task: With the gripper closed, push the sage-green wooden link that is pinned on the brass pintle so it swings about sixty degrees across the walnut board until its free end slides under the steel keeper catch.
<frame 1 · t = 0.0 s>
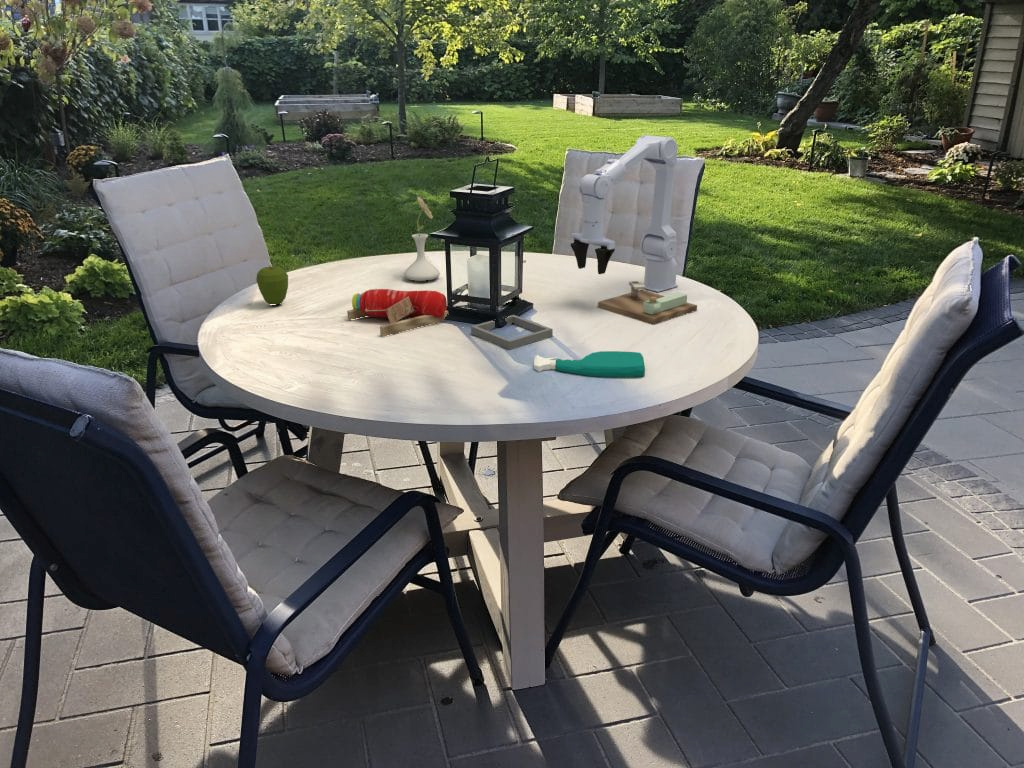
hand: (591, 270, 212), 10 cm above the table, tool pointing down, fingers open, 7 cm apart
bottle cradle: (398, 319, 206), on the table
mousse rim: (511, 335, 194), on the table
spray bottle: (588, 370, 174), on the table
water bottle: (398, 319, 206), touching bottle cradle
flower in vase: (422, 279, 243), on the table
apple: (275, 305, 218), on the table
link: (665, 303, 208), point 3 cm above the table, hinge at 0.0°
board: (646, 308, 213), on the table
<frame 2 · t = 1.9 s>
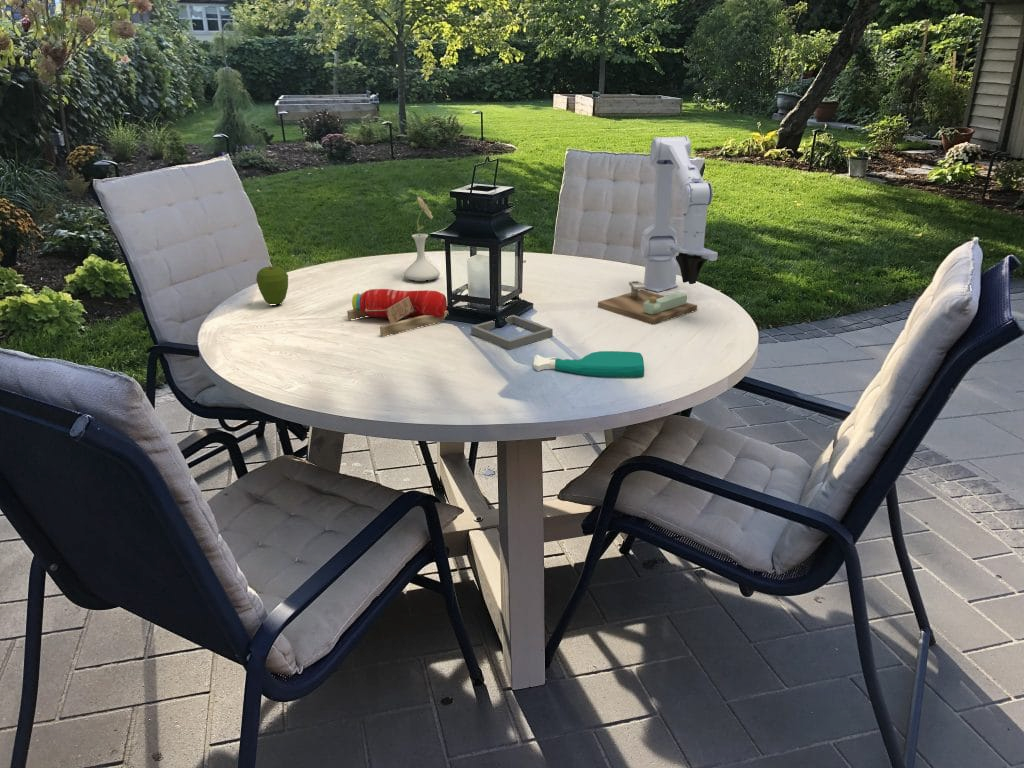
hand: (689, 282, 203), 9 cm above the table, tool pointing down, fingers closed
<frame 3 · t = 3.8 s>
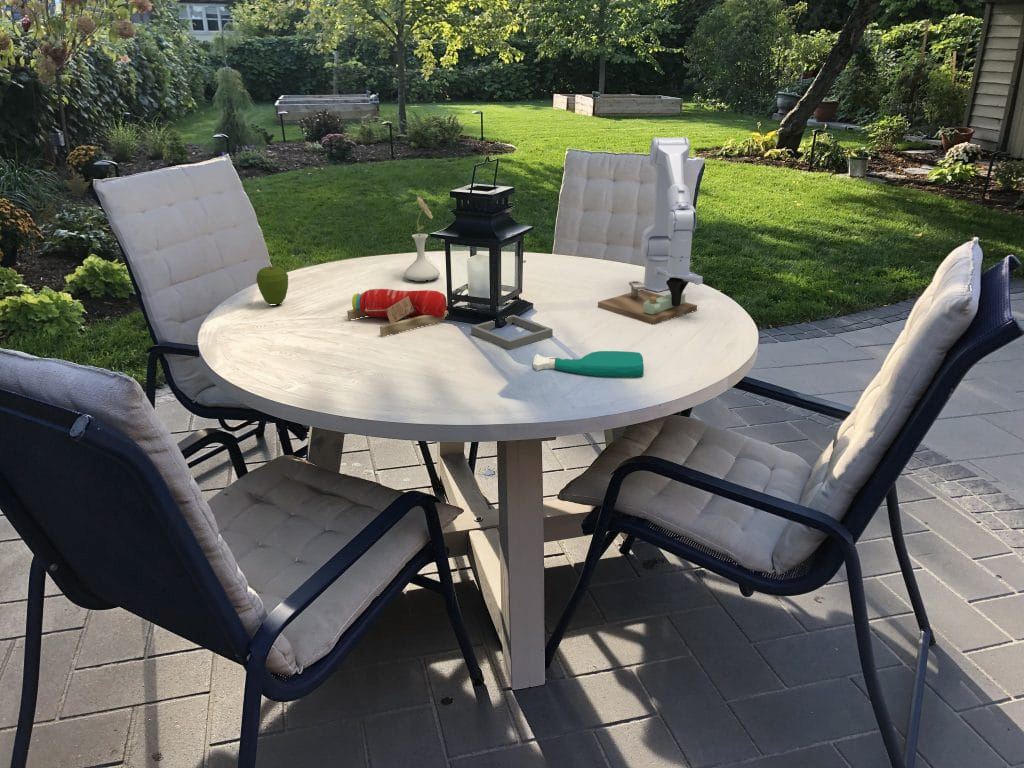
hand: (675, 305, 209), 2 cm above the table, tool pointing down, fingers closed, pressing on link
link: (664, 303, 208), point 3 cm above the table, hinge at 3.2°, touching gripper
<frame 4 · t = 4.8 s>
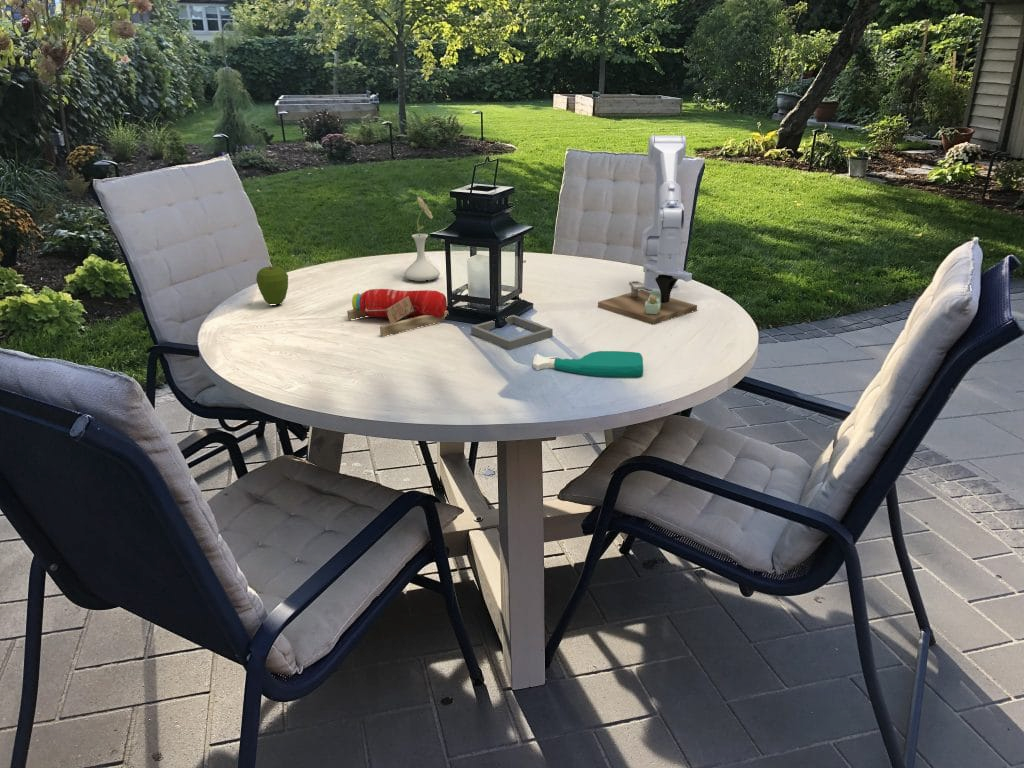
hand: (665, 302, 211), 2 cm above the table, tool pointing down, fingers closed, pressing on link
link: (654, 301, 209), point 3 cm above the table, hinge at 34.1°, touching gripper
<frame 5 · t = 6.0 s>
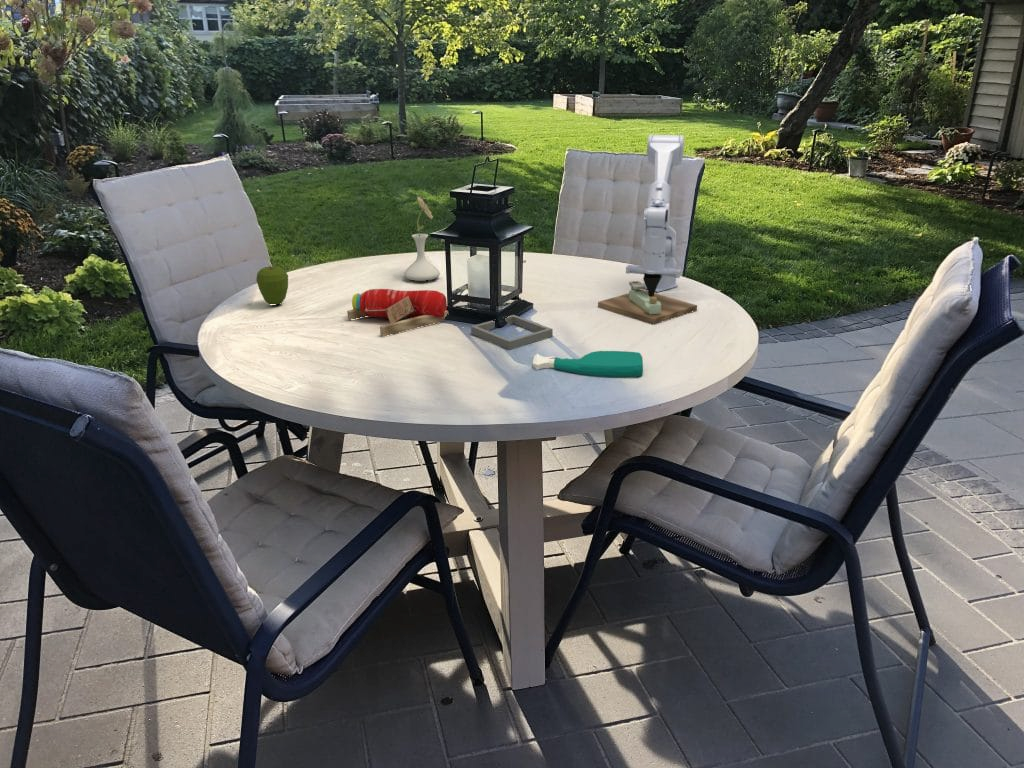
hand: (651, 300, 212), 2 cm above the table, tool pointing down, fingers closed
link: (644, 301, 210), point 3 cm above the table, hinge at 64.4°, touching gripper
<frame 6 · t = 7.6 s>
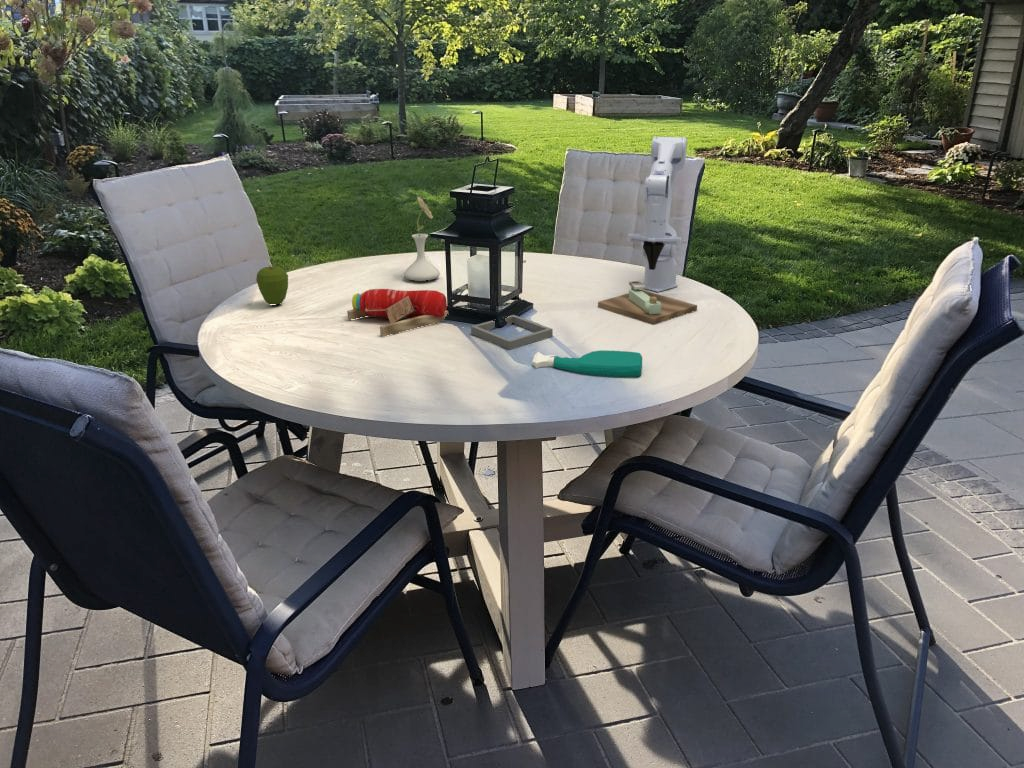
hand: (652, 268, 216), 9 cm above the table, tool pointing down, fingers closed
link: (644, 301, 210), point 3 cm above the table, hinge at 64.6°
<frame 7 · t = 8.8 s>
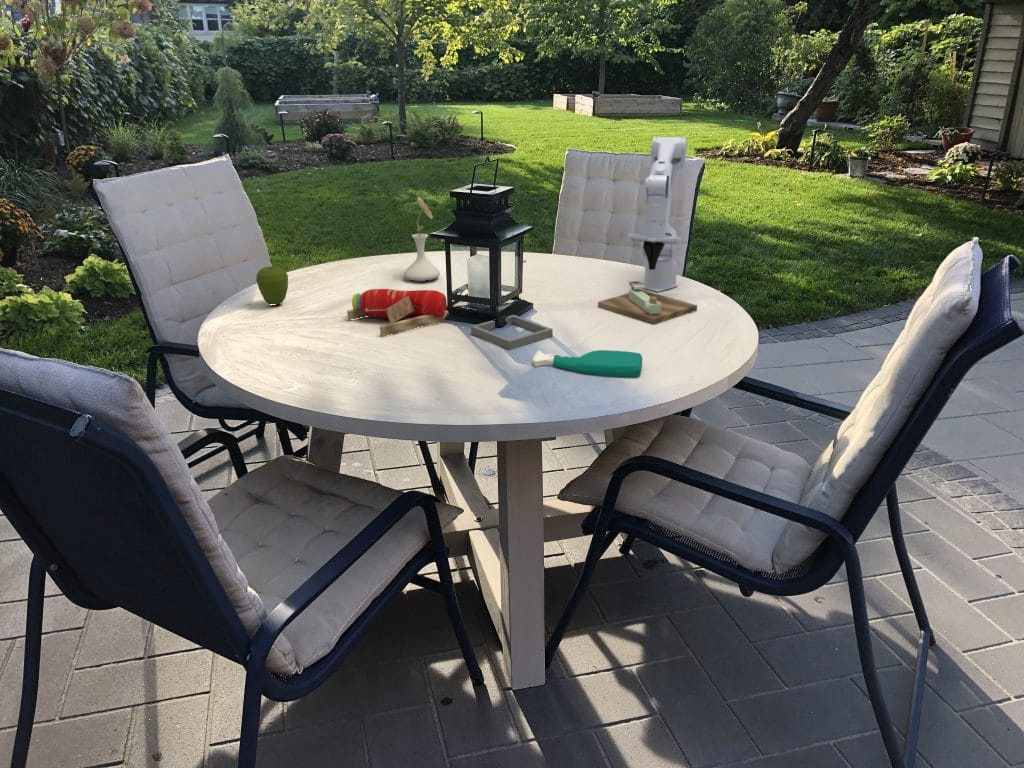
hand: (652, 268, 216), 9 cm above the table, tool pointing down, fingers closed
at the end: link at +65° (first picture: +0°) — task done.
